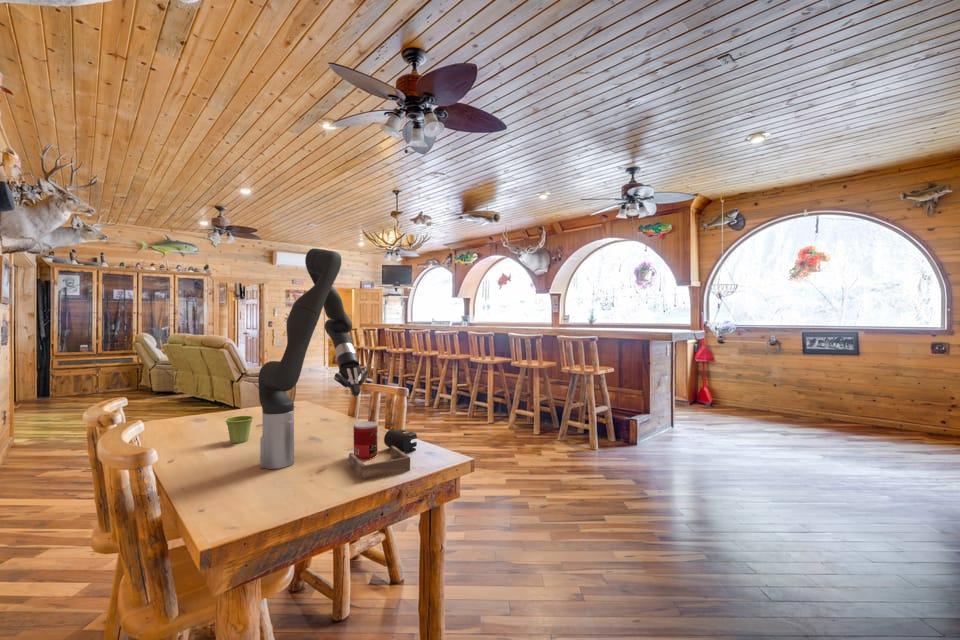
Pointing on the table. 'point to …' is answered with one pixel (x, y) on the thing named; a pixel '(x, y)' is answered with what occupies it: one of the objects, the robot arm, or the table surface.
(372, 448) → the canned food
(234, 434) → the plant pot
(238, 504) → the table surface
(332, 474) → the table surface
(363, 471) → the tray
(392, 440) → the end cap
